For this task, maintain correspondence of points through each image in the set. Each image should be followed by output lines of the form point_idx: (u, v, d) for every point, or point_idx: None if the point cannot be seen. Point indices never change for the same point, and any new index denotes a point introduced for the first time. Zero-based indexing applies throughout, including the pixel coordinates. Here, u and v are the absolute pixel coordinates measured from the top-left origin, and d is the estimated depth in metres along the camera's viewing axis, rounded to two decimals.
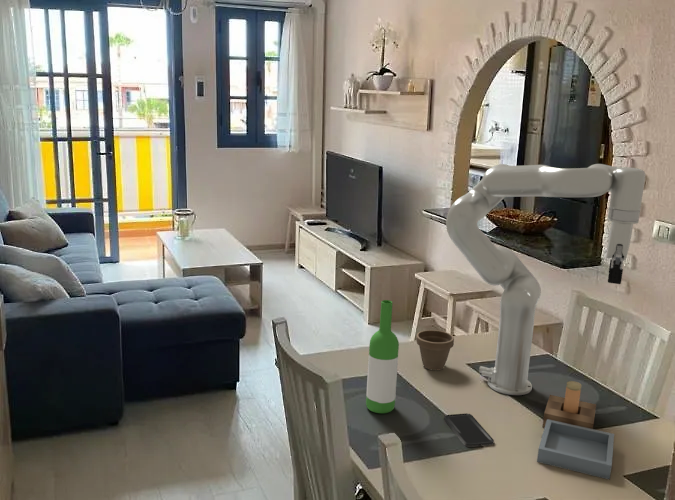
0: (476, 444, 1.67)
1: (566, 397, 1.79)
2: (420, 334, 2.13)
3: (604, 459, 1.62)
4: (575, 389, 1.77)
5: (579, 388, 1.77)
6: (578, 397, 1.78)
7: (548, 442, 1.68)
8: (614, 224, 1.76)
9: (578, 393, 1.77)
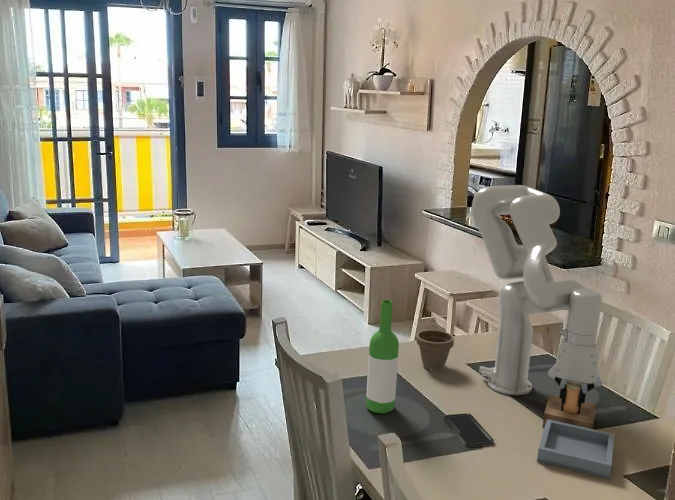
0: (476, 444, 1.67)
1: (566, 397, 1.79)
2: (420, 334, 2.13)
3: (604, 459, 1.62)
4: (575, 389, 1.77)
5: (579, 388, 1.77)
6: (578, 397, 1.78)
7: (548, 442, 1.68)
8: (596, 349, 1.72)
9: (578, 393, 1.77)
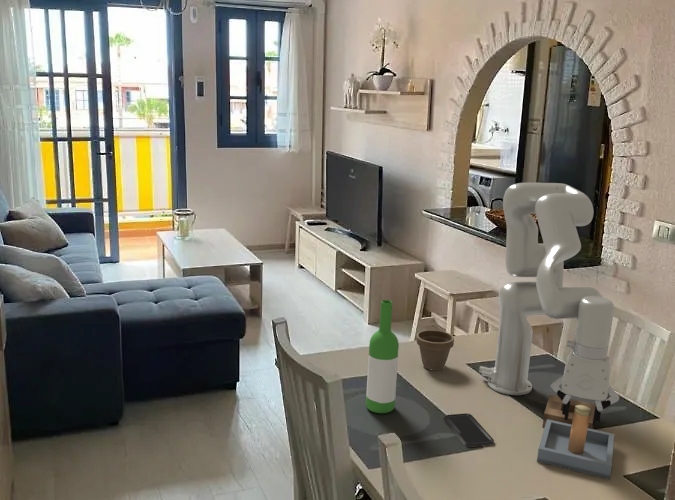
0: (476, 444, 1.67)
1: (574, 423, 1.63)
2: (420, 334, 2.13)
3: (604, 459, 1.62)
4: (584, 415, 1.61)
5: (588, 414, 1.61)
6: (587, 423, 1.62)
7: (548, 442, 1.68)
8: (608, 363, 1.56)
9: (587, 419, 1.62)
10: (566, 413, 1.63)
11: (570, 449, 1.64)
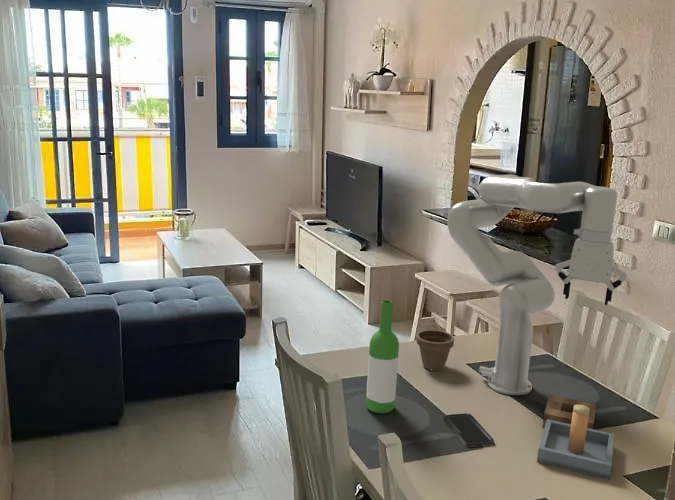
0: (476, 444, 1.67)
1: (573, 422, 1.63)
2: (420, 334, 2.13)
3: (604, 459, 1.62)
4: (583, 413, 1.61)
5: (587, 413, 1.62)
6: (586, 422, 1.62)
7: (548, 442, 1.68)
8: (611, 247, 1.71)
9: (586, 418, 1.62)
10: (567, 292, 1.78)
11: (570, 449, 1.64)
